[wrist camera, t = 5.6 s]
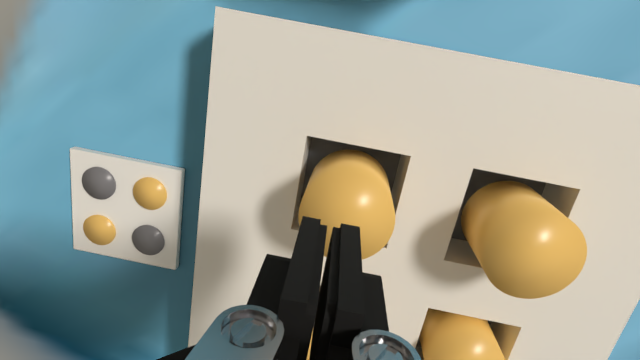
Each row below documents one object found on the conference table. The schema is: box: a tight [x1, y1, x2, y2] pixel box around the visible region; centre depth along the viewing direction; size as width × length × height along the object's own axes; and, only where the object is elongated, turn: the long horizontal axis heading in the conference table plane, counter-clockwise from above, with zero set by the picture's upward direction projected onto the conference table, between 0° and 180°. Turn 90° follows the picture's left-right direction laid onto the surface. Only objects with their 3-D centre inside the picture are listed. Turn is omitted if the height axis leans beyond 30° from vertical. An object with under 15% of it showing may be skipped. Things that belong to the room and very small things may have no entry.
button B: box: [419, 308, 505, 360], centre depth 20 cm, size 4×4×3 cm
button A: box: [461, 181, 587, 299], centre depth 16 cm, size 4×4×3 cm
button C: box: [298, 150, 395, 260], centre depth 16 cm, size 4×4×3 cm
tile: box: [70, 147, 185, 270], centre depth 22 cm, size 6×6×1 cm
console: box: [188, 7, 640, 360], centre depth 20 cm, size 20×20×3 cm
